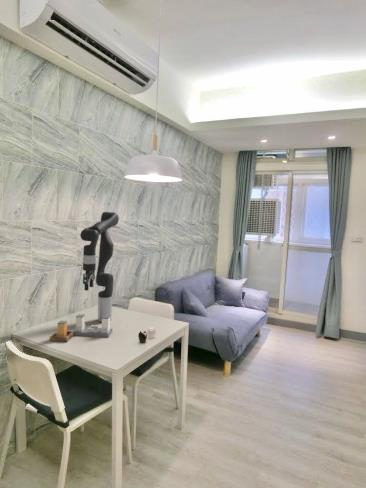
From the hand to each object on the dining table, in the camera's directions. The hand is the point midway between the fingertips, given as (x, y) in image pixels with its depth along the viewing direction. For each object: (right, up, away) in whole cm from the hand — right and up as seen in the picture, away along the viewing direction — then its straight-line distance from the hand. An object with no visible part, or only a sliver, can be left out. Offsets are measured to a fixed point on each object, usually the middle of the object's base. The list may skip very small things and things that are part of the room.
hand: (88, 288), depth 196 cm
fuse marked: (-14, -27, -7) cm, 31 cm away
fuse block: (+2, -28, +2) cm, 28 cm away
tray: (-14, -28, -7) cm, 32 cm away
